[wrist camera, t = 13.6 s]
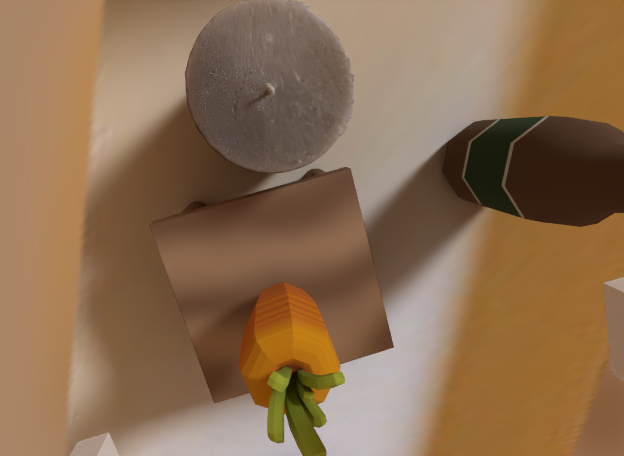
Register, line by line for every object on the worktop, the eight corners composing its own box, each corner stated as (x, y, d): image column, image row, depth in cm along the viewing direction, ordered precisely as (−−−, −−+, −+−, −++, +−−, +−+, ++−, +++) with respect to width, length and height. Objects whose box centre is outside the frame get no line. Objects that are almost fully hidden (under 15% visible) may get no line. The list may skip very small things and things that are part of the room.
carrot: (245, 256, 30) (232, 376, 16) (316, 256, 31) (368, 373, 16) (244, 322, 31) (231, 493, 17) (313, 322, 32) (358, 486, 17)
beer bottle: (532, 146, 42) (882, 162, 18) (487, 216, 43) (767, 315, 19) (468, 103, 40) (765, 60, 17) (423, 177, 41) (645, 233, 18)
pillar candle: (199, 148, 38) (165, 157, 23) (220, 32, 36) (196, -37, 22) (308, 172, 39) (338, 193, 25) (332, 62, 38) (380, 16, 23)
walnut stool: (176, 202, 38) (149, 225, 29) (327, 160, 39) (350, 168, 30) (224, 341, 42) (214, 403, 32) (362, 299, 43) (393, 347, 33)
